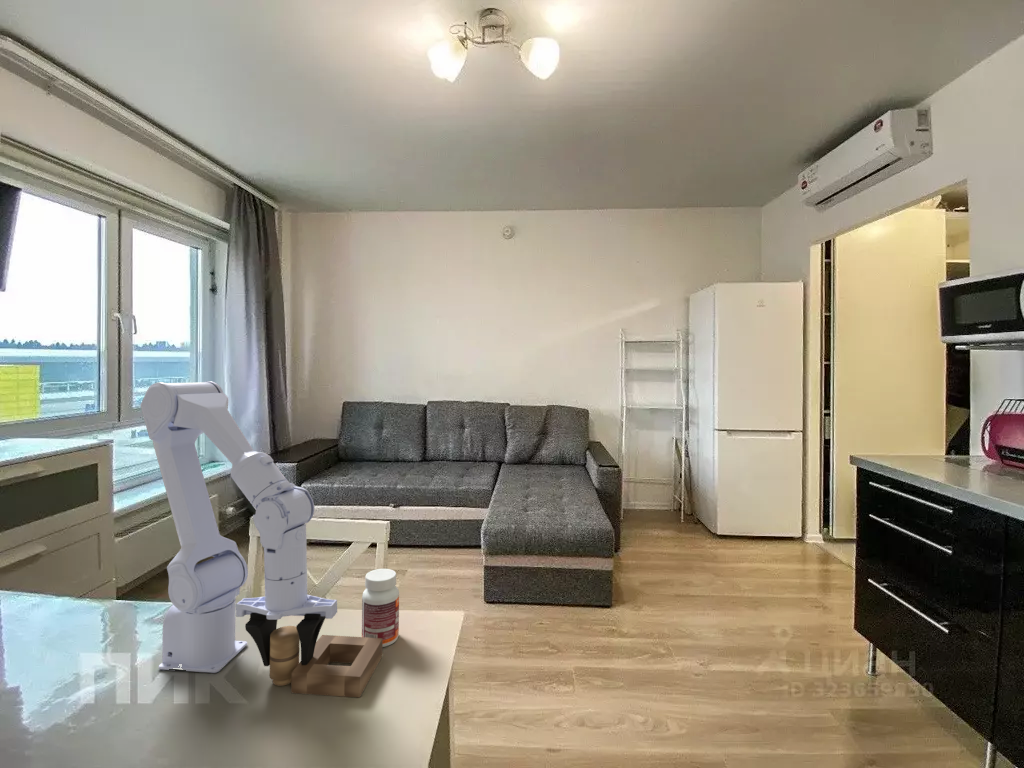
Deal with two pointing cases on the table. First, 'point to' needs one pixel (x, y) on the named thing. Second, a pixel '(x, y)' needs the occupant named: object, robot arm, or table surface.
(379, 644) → the board
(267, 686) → the table surface
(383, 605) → the pill bottle
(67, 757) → the table surface
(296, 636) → the peg
